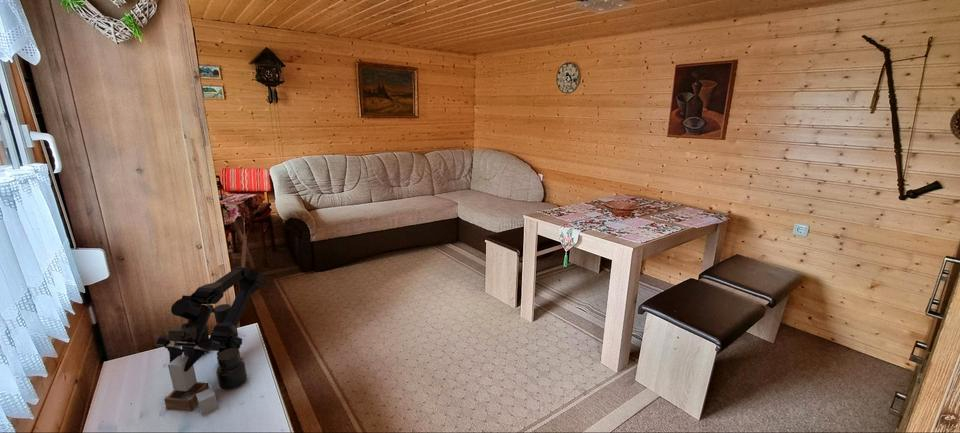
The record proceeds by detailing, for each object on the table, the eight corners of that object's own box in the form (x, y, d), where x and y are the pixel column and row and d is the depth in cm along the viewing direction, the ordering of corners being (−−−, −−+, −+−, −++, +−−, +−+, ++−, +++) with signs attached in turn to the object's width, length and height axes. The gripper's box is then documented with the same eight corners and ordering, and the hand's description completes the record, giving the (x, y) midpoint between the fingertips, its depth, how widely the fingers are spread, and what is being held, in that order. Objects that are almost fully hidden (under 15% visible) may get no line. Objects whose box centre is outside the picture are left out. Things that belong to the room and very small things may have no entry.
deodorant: (231, 333, 174) (226, 302, 170) (238, 338, 171) (233, 307, 166) (216, 339, 170) (210, 308, 165) (223, 345, 166) (217, 313, 162)
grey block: (214, 400, 138) (211, 387, 136) (217, 408, 135) (215, 394, 133) (198, 407, 134) (195, 394, 133) (202, 415, 131) (199, 401, 130)
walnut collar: (186, 390, 142) (184, 380, 140) (209, 392, 141) (207, 383, 140) (166, 408, 133) (164, 399, 132) (191, 411, 133) (188, 401, 132)
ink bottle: (244, 370, 152) (239, 342, 149) (252, 382, 146) (247, 354, 143) (214, 382, 146) (209, 354, 142) (221, 395, 140) (215, 366, 136)
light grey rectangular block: (184, 380, 138) (178, 355, 135) (197, 381, 137) (191, 356, 134) (173, 390, 133) (167, 364, 130) (186, 391, 133) (180, 365, 130)
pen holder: (216, 348, 164) (212, 326, 161) (192, 361, 156) (187, 339, 153) (201, 341, 168) (197, 320, 165) (177, 354, 160) (172, 332, 157)
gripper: (153, 315, 132) (131, 365, 125) (208, 319, 131) (188, 370, 124) (177, 322, 142) (158, 369, 135) (228, 326, 141) (211, 374, 134)
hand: (178, 370), depth 132 cm, fingers closed on light grey rectangular block, 4 cm apart
